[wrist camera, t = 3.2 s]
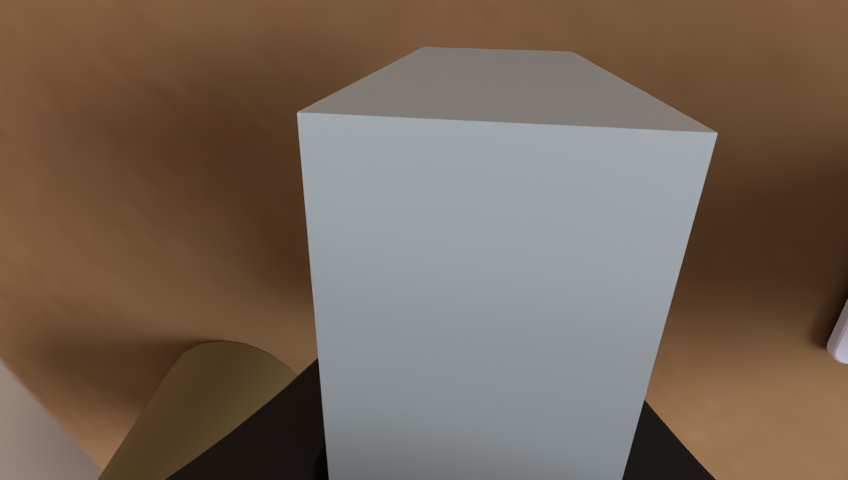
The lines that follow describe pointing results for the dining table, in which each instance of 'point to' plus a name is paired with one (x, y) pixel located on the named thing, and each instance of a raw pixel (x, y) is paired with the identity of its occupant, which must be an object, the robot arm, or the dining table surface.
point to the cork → (197, 408)
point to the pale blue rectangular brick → (492, 262)
